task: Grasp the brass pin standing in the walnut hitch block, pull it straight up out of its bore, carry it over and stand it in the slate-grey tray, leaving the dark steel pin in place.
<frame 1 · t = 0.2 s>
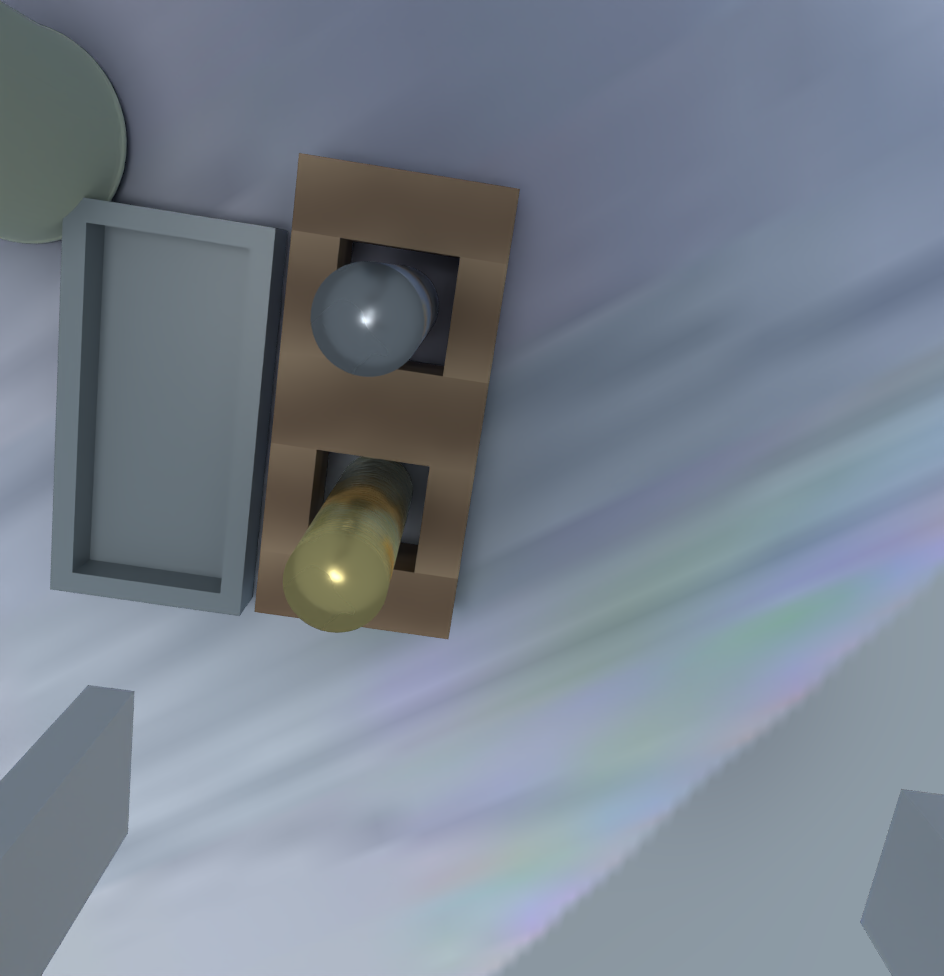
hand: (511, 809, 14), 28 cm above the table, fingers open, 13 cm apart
tray: (175, 409, 41), on the table
can: (27, 136, 38), on the table, touching tray
hitch block: (387, 399, 41), on the table
steel pin: (400, 304, 39), resting in hitch block
brass pin: (376, 489, 42), resting in hitch block
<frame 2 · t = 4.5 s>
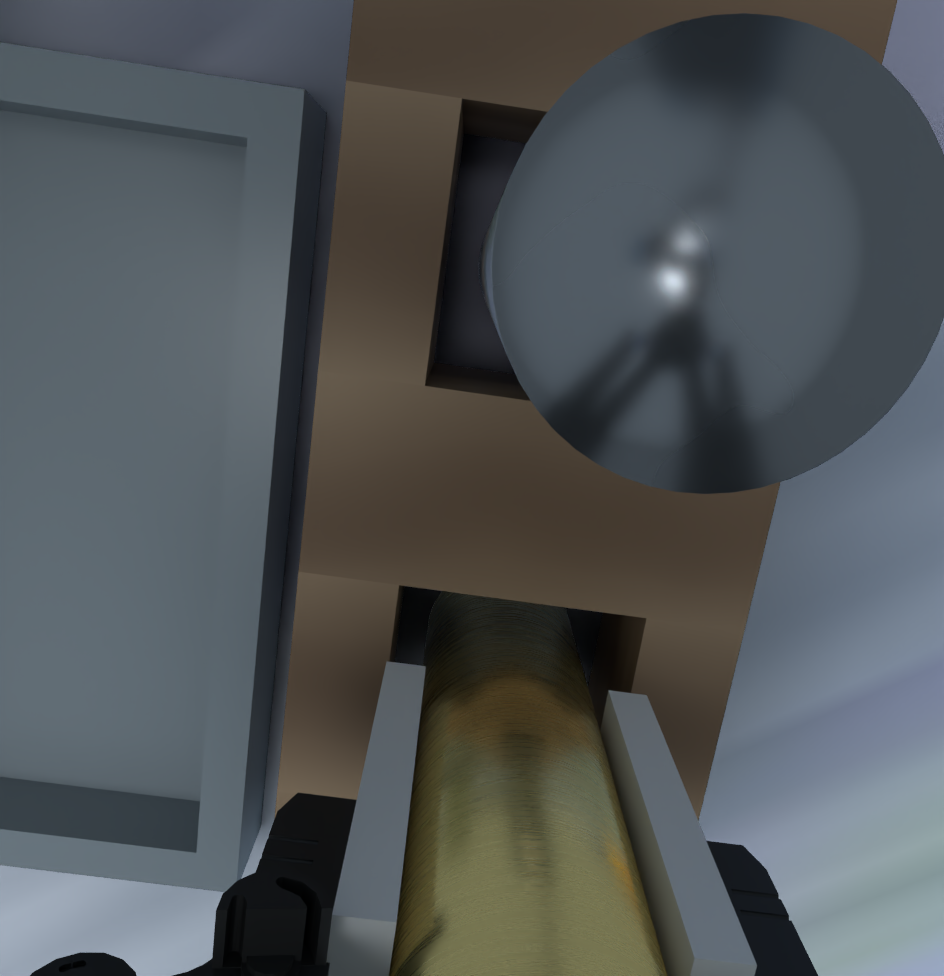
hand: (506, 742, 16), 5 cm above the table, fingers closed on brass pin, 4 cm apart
tray: (103, 483, 20), on the table
hitch block: (526, 460, 20), on the table
steel pin: (558, 268, 19), resting in hitch block
brass pin: (498, 632, 21), resting in hitch block, touching gripper
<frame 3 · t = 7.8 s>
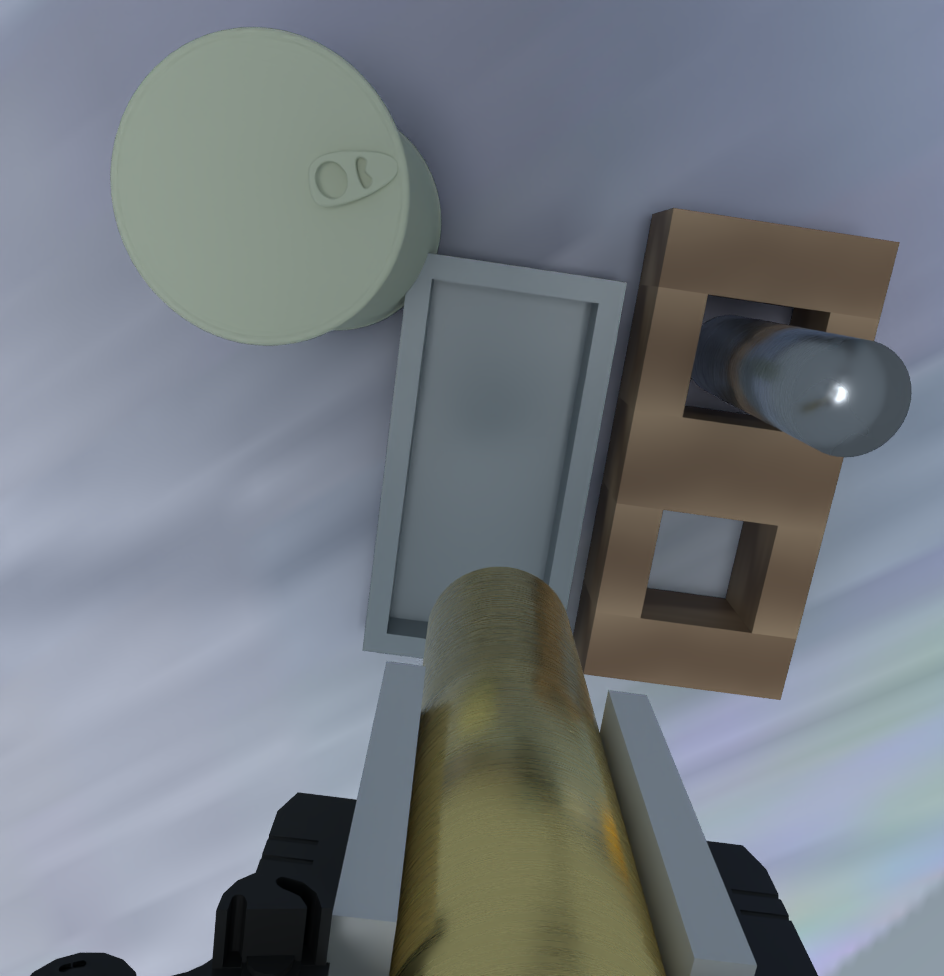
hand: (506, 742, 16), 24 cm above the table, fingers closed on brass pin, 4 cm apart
tray: (486, 463, 39), on the table
can: (336, 222, 37), on the table, touching tray
hitch block: (705, 452, 39), on the table
steel pin: (726, 355, 38), resting in hitch block
brass pin: (498, 633, 21), point 19 cm above the table, touching gripper
when the fingers open (7 cm above the table, at t = 11.4 s): brass pin drops 1 cm, resting on tray.
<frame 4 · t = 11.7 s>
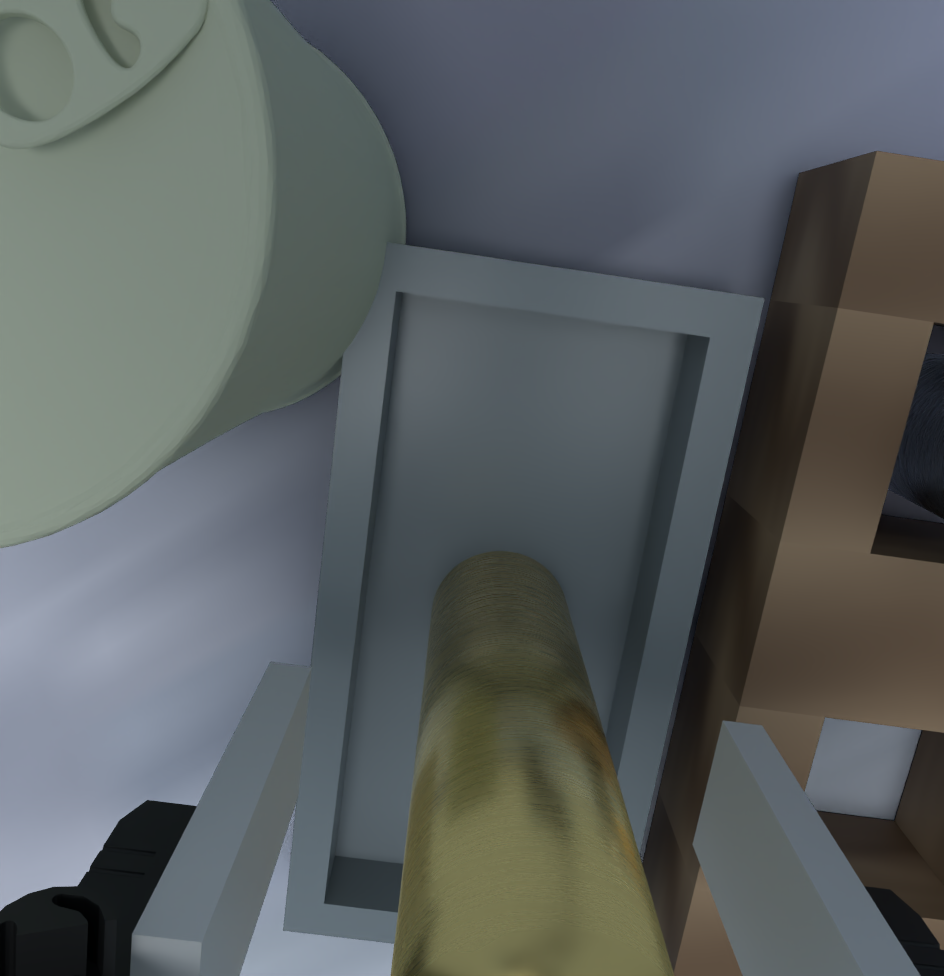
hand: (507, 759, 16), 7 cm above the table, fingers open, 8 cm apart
tray: (496, 606, 23), on the table
can: (219, 225, 21), on the table, touching tray
hitch block: (873, 586, 23), on the table
steel pin: (918, 424, 22), resting in hitch block
brass pin: (499, 615, 22), point 1 cm above the table, touching tray
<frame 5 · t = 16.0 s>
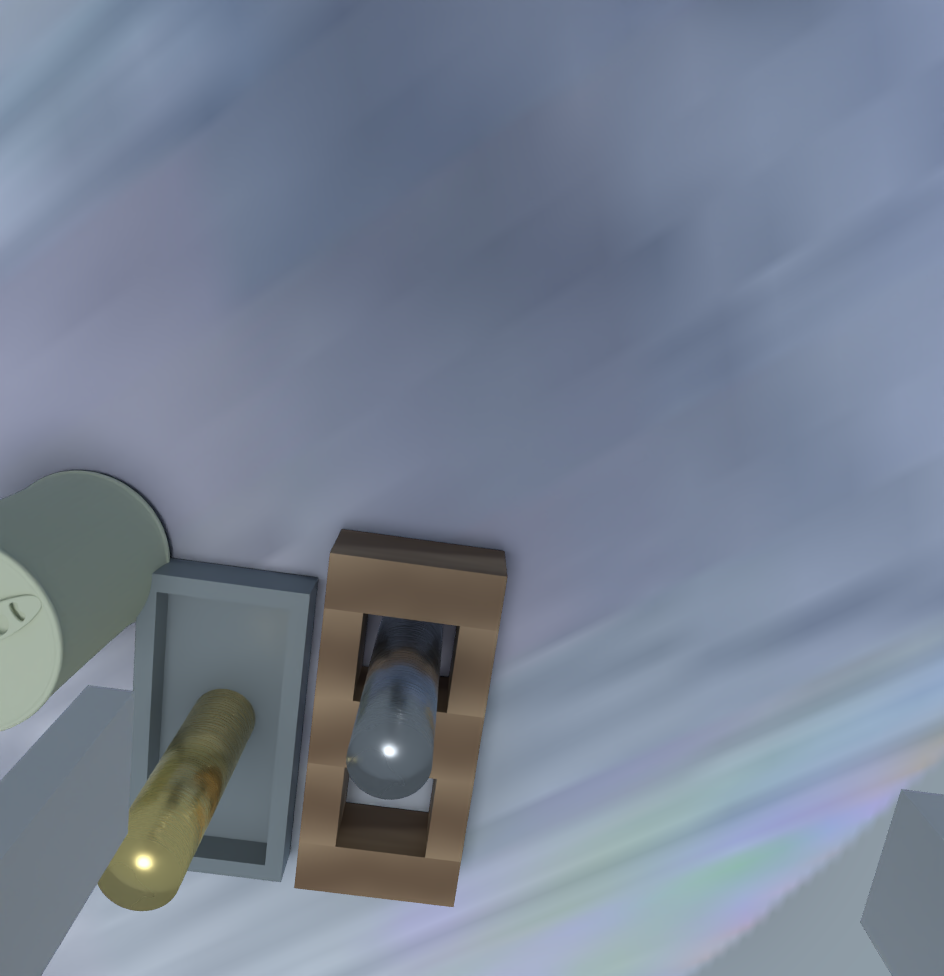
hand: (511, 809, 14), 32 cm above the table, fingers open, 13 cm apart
tray: (225, 711, 49), on the table
can: (90, 550, 47), on the table, touching tray
hitch block: (401, 703, 49), on the table
steel pin: (411, 631, 48), resting in hitch block
brass pin: (224, 717, 49), point 1 cm above the table, touching tray
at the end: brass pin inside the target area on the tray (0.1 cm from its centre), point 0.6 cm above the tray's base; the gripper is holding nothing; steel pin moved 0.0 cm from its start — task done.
